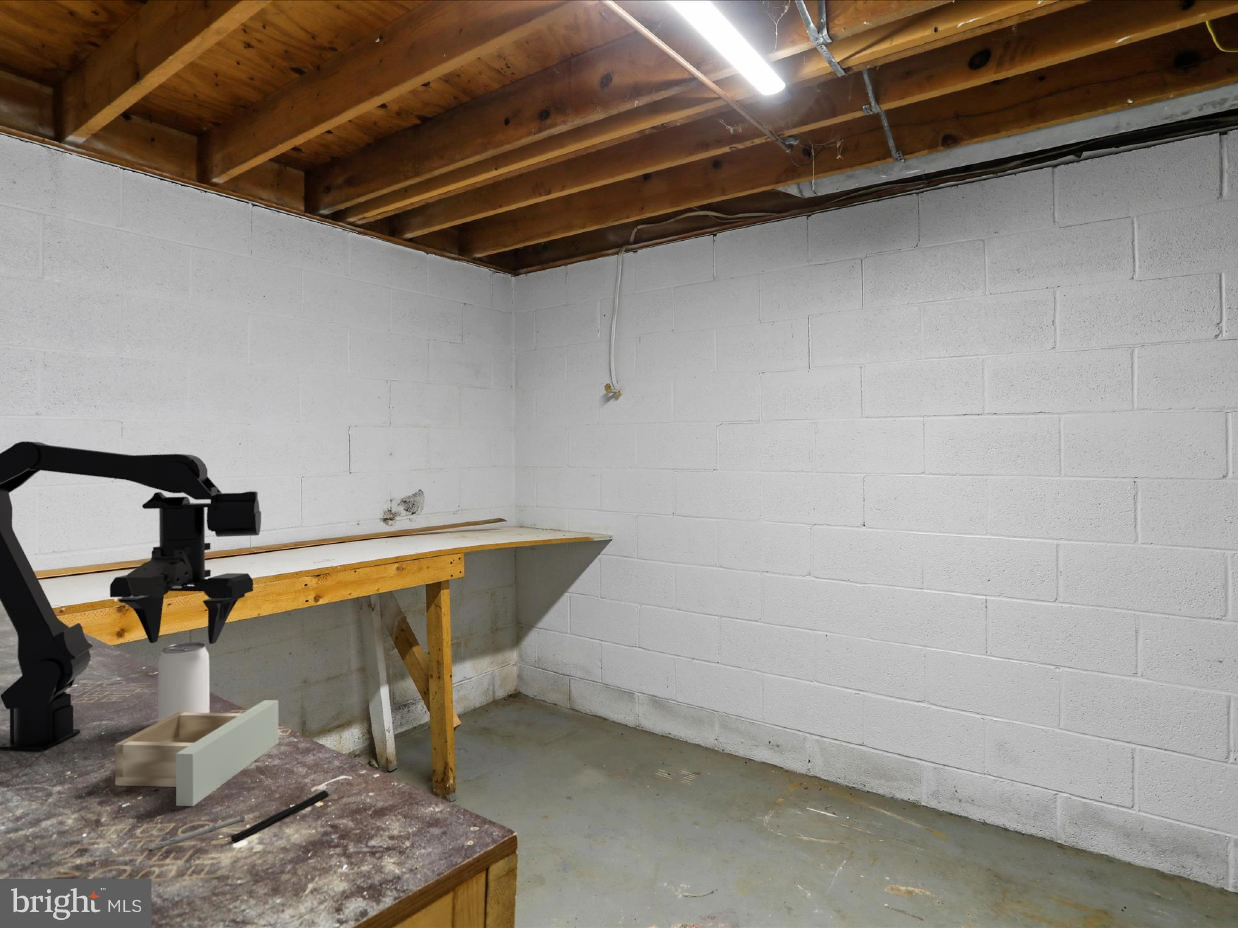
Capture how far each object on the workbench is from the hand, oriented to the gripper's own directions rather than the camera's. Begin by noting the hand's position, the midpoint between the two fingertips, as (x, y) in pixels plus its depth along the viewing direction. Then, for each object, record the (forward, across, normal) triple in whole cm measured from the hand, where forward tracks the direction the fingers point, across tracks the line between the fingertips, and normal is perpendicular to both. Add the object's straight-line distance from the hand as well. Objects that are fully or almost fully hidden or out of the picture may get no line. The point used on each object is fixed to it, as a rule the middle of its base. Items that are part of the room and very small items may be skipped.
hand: (183, 642), depth 104 cm
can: (+13, 0, 0) cm, 13 cm away
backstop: (+13, +16, -14) cm, 25 cm away
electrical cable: (+13, +29, -24) cm, 40 cm away
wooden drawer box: (+13, +10, -13) cm, 20 cm away
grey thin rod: (+13, +22, -28) cm, 38 cm away
